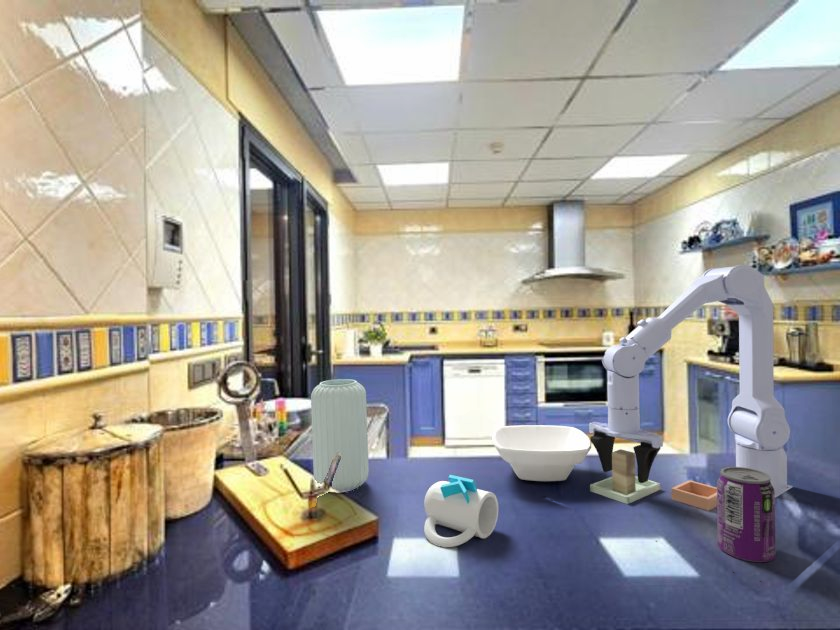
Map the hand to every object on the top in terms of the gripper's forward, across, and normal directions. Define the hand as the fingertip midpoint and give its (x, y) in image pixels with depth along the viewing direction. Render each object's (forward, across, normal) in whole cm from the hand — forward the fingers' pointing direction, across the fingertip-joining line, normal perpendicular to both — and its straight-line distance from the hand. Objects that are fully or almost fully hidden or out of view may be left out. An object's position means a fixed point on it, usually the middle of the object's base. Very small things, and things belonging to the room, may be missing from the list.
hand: (624, 476), depth 96 cm
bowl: (+4, -17, -5) cm, 18 cm away
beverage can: (+4, +24, -7) cm, 25 cm away
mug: (+4, -9, -36) cm, 38 cm away
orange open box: (+3, +11, +6) cm, 13 cm away
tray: (+3, 0, 0) cm, 3 cm away
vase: (+4, -39, -42) cm, 57 cm away
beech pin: (+3, 0, 0) cm, 3 cm away
